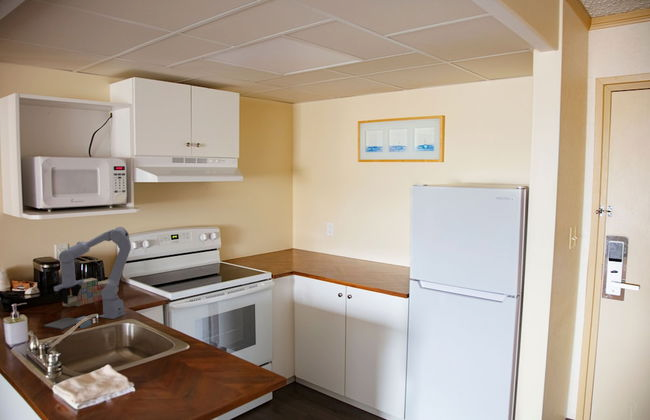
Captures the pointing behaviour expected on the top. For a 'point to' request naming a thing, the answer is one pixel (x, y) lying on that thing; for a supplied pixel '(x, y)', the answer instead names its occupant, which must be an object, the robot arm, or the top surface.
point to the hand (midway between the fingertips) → (70, 301)
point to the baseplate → (62, 323)
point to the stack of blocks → (90, 291)
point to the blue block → (85, 324)
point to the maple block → (71, 301)
